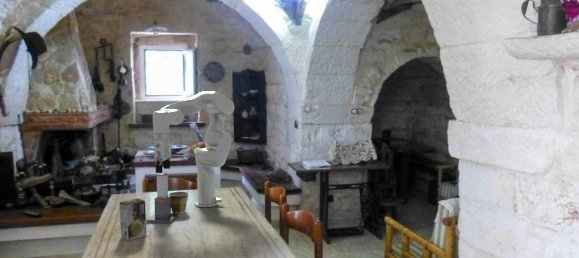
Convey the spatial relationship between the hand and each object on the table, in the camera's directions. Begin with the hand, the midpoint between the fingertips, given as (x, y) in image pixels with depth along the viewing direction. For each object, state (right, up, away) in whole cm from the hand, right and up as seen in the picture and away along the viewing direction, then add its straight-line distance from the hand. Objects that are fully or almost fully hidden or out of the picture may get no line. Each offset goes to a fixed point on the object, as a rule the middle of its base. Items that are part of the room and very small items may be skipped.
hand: (163, 170), depth 225 cm
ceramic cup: (+3, -23, +16) cm, 28 cm away
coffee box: (-7, -27, -23) cm, 37 cm away
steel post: (0, -18, +1) cm, 18 cm away
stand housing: (-1, -25, +2) cm, 25 cm away
